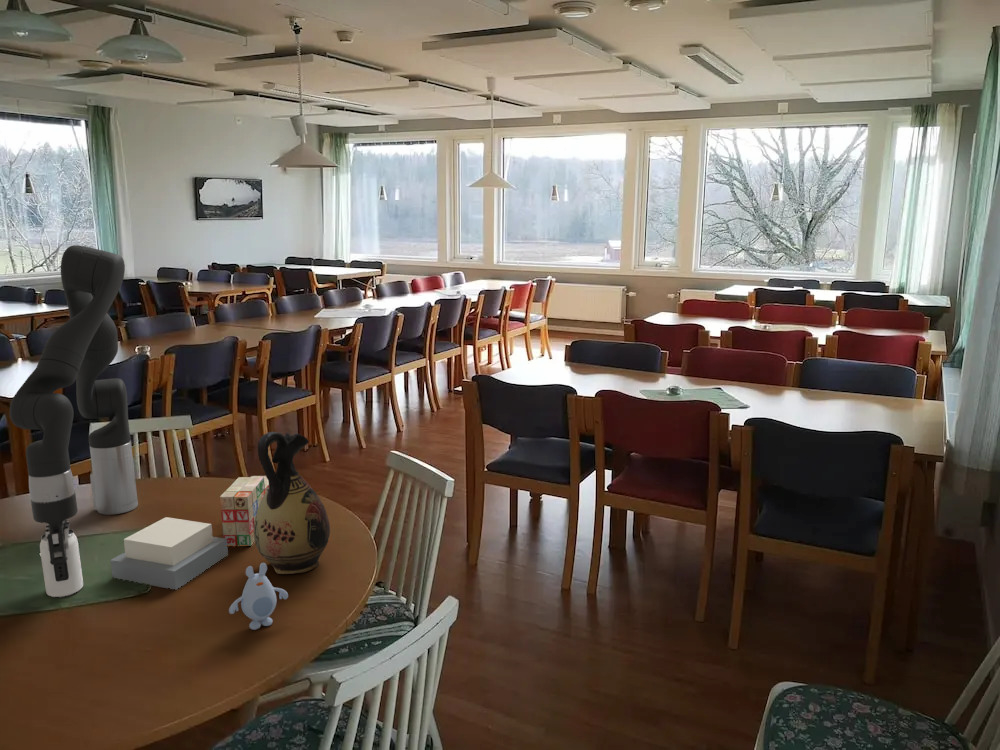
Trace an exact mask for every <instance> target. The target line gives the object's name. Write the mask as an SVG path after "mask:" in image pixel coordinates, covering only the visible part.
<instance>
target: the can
mask: <svg viewBox="0 0 1000 750" xmlns="http://www.w3.org/2000/svg"><path fill="white" fill-rule="evenodd" d="M74 531H75V530H74V529H71V528H70V530H69V536H68V540H69V549H68V550H67V551H66V553H67V557H68V560H67V567H68V574H69V578H68V579H67V580H64V581H59V582H58V581H56V579H55V572H54V565H51V563H50V560H51V559H50V552H49V551H48V541H47V538H46V534H45V533H43V534H42V535H41V536H40V539H41V541H40V543H39V551H40V559H41V560H40V561H41V566H42V572H43V573H42V574H43V579H44V586H45V592H46V595H47V596H49V597H50V596H51V598H55V597H59V598H65V596H66V597H68V596H72V595H75V594H77V593H78V592H80V591H81V589H82V588H83V587H84V580H83V570H82V564H81V557H80V555H81V554H80V548H79V542H78V537H77V536H76V534H75V532H74ZM64 538H65V537H64ZM64 544H65V540H64ZM60 556H62V552H61V551H59V552H55V557H60ZM76 592H77V593H76ZM74 593H75V594H74Z"/></svg>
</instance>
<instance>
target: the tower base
mask: <svg viewBox="0 0 1000 750" xmlns="http://www.w3.org/2000/svg"><path fill="white" fill-rule="evenodd" d="M212 526H213V525H212V523H208V522H201V521H194V520H187V519H180V518H173V517H167V516H165V517H164V518H161V519H160V520H158V521H155V522H154V523H152V524H150V525H148V526H147V527H144V528H142V529H141V530H138V531H137V532H134V533H133V534H131V535H129V536H126V537H125V538H124V539H123V544H124V552H123V553H121V554H119V555H117V556H115V557H113V558H111V559H110V565H111V566H110V567H111V575H112V578H113V577H114V578H113V579H115V578H119V579H118V580H120V579H123V580H122V581H125V580H129V581H128V582H131V581H134V582H133V583H136V582H138V583H137V584H142V583H146V584H145V585H147V584H150V585H149V586H153V587H158V588H164V589H168V588H170V589H169V590H174V589H175V590H176V591H177V590H179V589H180V588H182V587H184V586H185V585H186V584H188V583H189V582H191V581H192V580H194V579H195V578H197V577H198V576H200V575H202V574H203V573H204V571H205V570H206V569H208V568H209V569H211V568H212V567H213V566H212V565H214V564H215V563H217V562H218V561H220V560H221V559H223V558H224V557H226V556H227V555H228V556H229V550H228V548H229V547H227V539H225V538H223V537H218V536H213V527H212ZM228 556H227V557H228ZM227 557H226V558H227ZM224 559H225V558H224ZM224 559H223V560H224ZM221 561H222V560H221ZM221 561H220V562H221ZM218 563H219V562H218ZM218 563H217V564H218ZM215 565H216V564H215ZM215 565H214V566H215ZM211 566H212V567H211ZM210 567H211V568H210ZM209 569H208V570H209ZM206 571H207V570H206ZM206 571H205V572H206ZM202 572H203V573H202ZM199 574H200V575H199ZM196 576H197V577H196ZM193 578H194V579H193ZM190 580H191V581H190ZM187 582H188V583H187ZM181 586H182V587H181ZM178 588H179V589H178ZM175 590H174V591H175Z"/></svg>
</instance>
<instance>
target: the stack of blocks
mask: <svg viewBox="0 0 1000 750" xmlns="http://www.w3.org/2000/svg"><path fill="white" fill-rule="evenodd" d="M268 487H269V481H268V478H266V475H251V476H249V477H248V476H247V477H243V476H241V477H240V476H239V477H237V479H236V480H235V481H234V482H233V483H232V484H231V485H230V486H229V487H228V488H227V489H226V490H225V491H224V492H223V493H222V494H221V495H220V496H219V501H220V504H219V505H220V516H221V522H222V523H221V524H222V525H221V526H222V538H225V539H227V545H232V546H233V545H236V546H238V545H239V546H240V545H249V546H251V545H252V544H253V542H254V541H255V539H254V524H255V517H256V512H257V510H258V507H259V505H260V502H261V500H262V498H263V496H264V495H265V493H266V490H267V489H268ZM254 543H255V542H254ZM253 545H254V544H253ZM253 545H252V546H253ZM252 546H251V547H252Z"/></svg>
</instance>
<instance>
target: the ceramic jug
mask: <svg viewBox="0 0 1000 750" xmlns="http://www.w3.org/2000/svg"><path fill="white" fill-rule="evenodd" d="M309 441H310V440H309V439H308V438H307V437H306V436H303V435H302V434H299V433H295V434H293V435H291V434H290V433H288V432H286V433H285V434H284V435H283V433H281V432H278V431H277V432H276V431H268V432H266V433H265V434H262V436H261V437H260V438H259V440H258V443H257V455H258V460H259V462H260V464H261V466H262V469H263V471H264V474H265V476H266V478H268V481H269V487H268V489H267V490H266V493H265V495H264V496H263V498H262V500H261V502H260V505H259V507H258V510H257V512H256V517H255V524H254V539H255V542H254V544H255V547H256V549H257V550H258V552H259V554H260V556H262V557H263V558H264V559H265V560H266V561H268V563H269V564H270V565H271V566H272V567H273V569H274V571H275V573H276V574H279V575H291V574H292V575H293V574H303V573H306V572H310V571H312V570H313V569H316V568H318V567H319V566H320V563H319V559H320V557H321V555H322V553H323V552H324V551H325V549H326V548H327V546H328V542H329V538H330V535H331V534H330V533H331V526H330V525H331V524H330V519H329V517H328V512H327V511H326V507H325V505H324V503H323V502H322V500H321V499H320V497H319V495H318V494H317V493H316V492H315V490H314V489H313V488H312V486H311V485H310V483H308V481H306V479H304V478H303V476H301V475H300V473H299V472H298V471H297V470H296V466H295V464H294V462H293V460H294V457H295V456H296V455H297V453H299V452H300V451H301V449H303V448H304V447H305V446H307V445H308V444H309ZM273 443H276V445H277V446H276V449H275V451H274V453H273V457H272V459H271V458H270V455H269V448H270V446H271V445H272V444H273ZM273 463H274V464H277V467H276V471H275V468H274V465H273Z"/></svg>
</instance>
